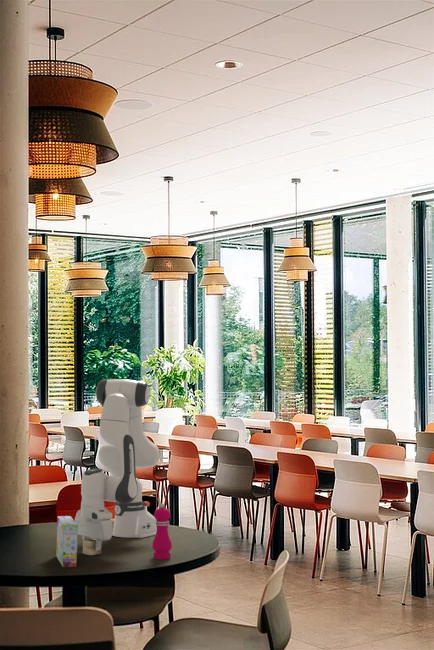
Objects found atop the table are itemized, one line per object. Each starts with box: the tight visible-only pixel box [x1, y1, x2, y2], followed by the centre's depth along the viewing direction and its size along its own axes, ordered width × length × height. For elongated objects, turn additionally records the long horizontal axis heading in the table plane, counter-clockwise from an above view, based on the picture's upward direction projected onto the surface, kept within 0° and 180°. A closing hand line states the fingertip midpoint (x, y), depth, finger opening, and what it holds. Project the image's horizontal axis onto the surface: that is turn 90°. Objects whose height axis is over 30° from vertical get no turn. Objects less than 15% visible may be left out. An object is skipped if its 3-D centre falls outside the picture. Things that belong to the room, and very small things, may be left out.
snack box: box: [55, 515, 79, 568], centre depth 331 cm, size 21×6×15 cm, turn 17°
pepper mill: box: [151, 503, 173, 560], centre depth 338 cm, size 7×7×20 cm
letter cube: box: [82, 538, 102, 556], centre depth 345 cm, size 5×5×5 cm
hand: (92, 549), depth 345 cm, fingers closed on letter cube, 5 cm apart
